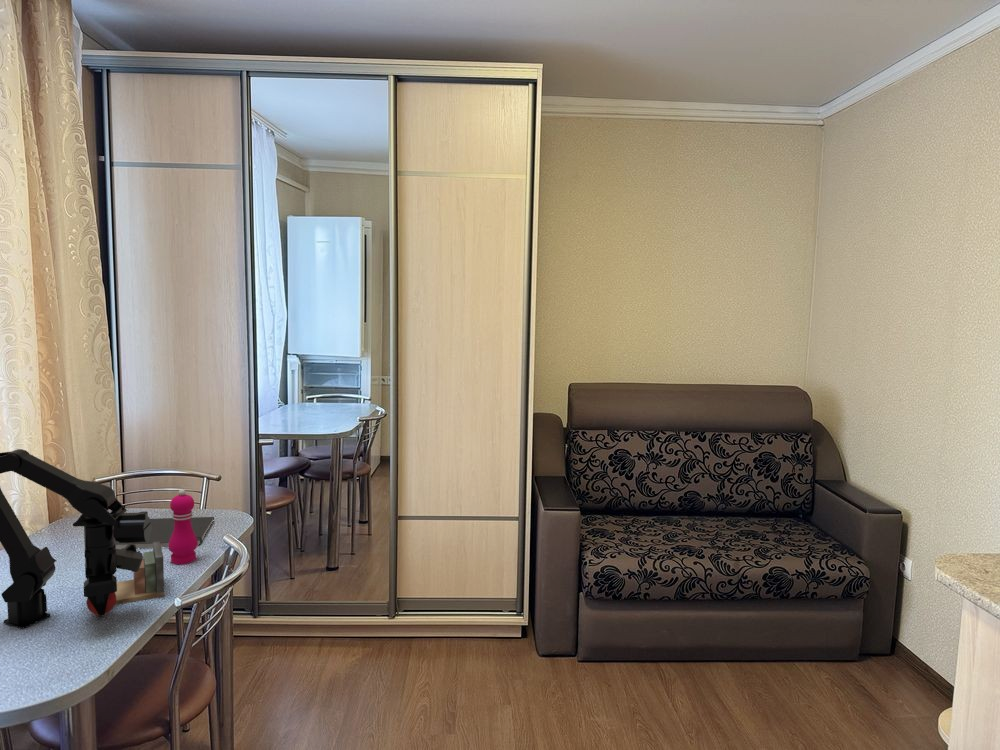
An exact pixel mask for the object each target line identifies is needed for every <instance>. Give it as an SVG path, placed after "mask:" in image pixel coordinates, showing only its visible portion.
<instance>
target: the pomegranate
mask: <svg viewBox="0 0 1000 750" xmlns="http://www.w3.org/2000/svg"><path fill="white" fill-rule="evenodd" d="M115 603H116V594H115V593H110V594H109V597H108V601H107V606H106V611H105V614H104V615H101V616H99V614H98V613H97V611H96V610H95V608H94V606H93V605H92V603H91V602H90V600H89V599H88V597H86V606H87V609H88V610H89V612H90V613H92V614H93V615H96V616H98V617H105V615H106V614H108V613H109V612H111V610H112V609H113V608H114V607H115Z"/></svg>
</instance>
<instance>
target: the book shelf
mask: <svg viewBox="0 0 1000 750" xmlns="http://www.w3.org/2000/svg"><path fill="white" fill-rule="evenodd" d="M142 555H143V560H142V562H141V565H140V568H139V570H138V572H132V573H133V578H132V579H128V580H122V581H117V592H115V594H116V603H115V605H121V604H125V603H126V604H128V603H131V602H139V601H143V600H144V599H145V600H150V599H155V598H156V599H157V598H161V597H160V596H162V597H165V573H164V572H165V569H164V555H163V548H161V544H160V542H153V548H152V551H144V552H142ZM115 605H114V606H115Z"/></svg>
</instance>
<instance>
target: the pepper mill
mask: <svg viewBox="0 0 1000 750" xmlns="http://www.w3.org/2000/svg"><path fill="white" fill-rule="evenodd" d="M194 507H195V500H194V498H193V497H192V496H191V495H189V494H187V493H186V489H182V488H181V489H179V490H178V495H175V496H174V497H173V498H172V499H171V500H170V503H169V508H170V510H171V511H172V515H171V516H172V517H171V518H173V519H174V523H175V524H174V531H173V533H172V536H171V538H170V541H169V548H168V550H169V552H171V554H170V561H171V562H170V563H172V564H173V563H174V564H173V565H187V564H190V563H193V562H194V561H196V559H197V552H196V551H195V550H196V549H197V548H198V546H197V545H198V543H197V538H196V535H195V533H194V532H193V529H192V526H191V518H192V517H194V516H193V514H194V513H193V511H192V510H193V509H194Z"/></svg>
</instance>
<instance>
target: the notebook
mask: <svg viewBox="0 0 1000 750" xmlns="http://www.w3.org/2000/svg"><path fill="white" fill-rule="evenodd" d="M213 520H214V521H215V516H201V517H200V516H196V517H195V516H192V518H191V526H192V529H193V532H194V533H195V535H196V538H197V543H198V545H199V544H200V545H201V544H202V543H203V540H204V538H205V537H206V535H207V533H208V532H207V530H208V529H209V530H210V528H211V527H210V525H211V524H212V525H213V523H214V522H213ZM150 522H151V523H152V530H151V536H150V539H149V541H148V542H138V543H119V541H116V540H115V538H114V544H116V549H122V548H125V547H126V546H127V545H128V544H135V545H136V550H139V549H138V548H148V549H153V542H160V544H161V547H169V541H170V538H171V536H172V533H173V531H174V524H175V523H174V519H173V518H172V517H166V518H161V517H160V518H150ZM212 522H213V523H212ZM212 525H211V526H212ZM209 527H210V528H209ZM113 530H114V525H113ZM209 530H208V531H209ZM206 532H207V533H206ZM205 534H206V535H205ZM204 536H205V537H204ZM198 545H197V547H198ZM200 545H199V546H200Z"/></svg>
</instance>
